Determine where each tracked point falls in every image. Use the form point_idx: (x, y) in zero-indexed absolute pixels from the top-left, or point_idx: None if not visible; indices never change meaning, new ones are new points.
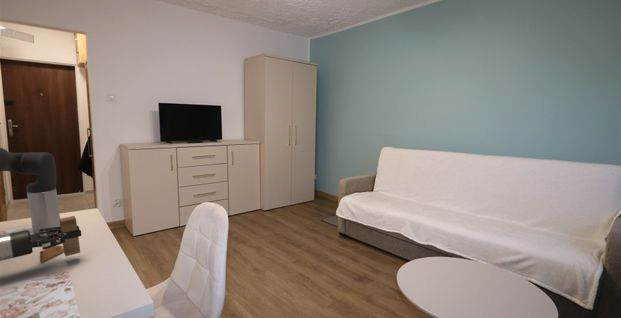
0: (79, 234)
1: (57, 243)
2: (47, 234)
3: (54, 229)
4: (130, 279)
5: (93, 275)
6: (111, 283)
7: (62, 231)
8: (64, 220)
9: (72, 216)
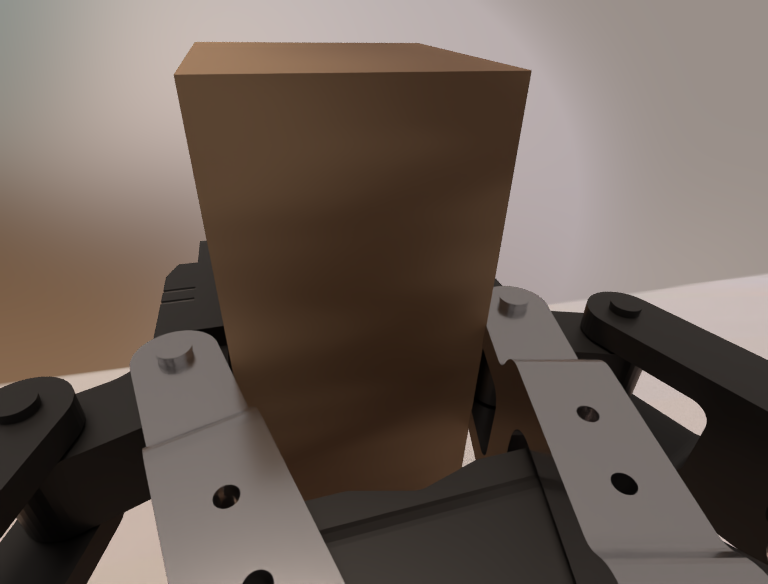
0: None
1: (687, 440)
2: (662, 500)
3: (259, 419)
4: (708, 292)
5: (671, 411)
6: (758, 339)
7: (485, 296)
8: (437, 62)
9: (230, 44)
